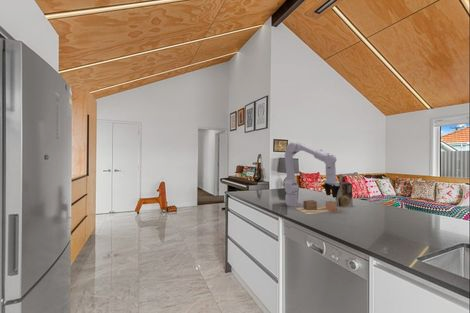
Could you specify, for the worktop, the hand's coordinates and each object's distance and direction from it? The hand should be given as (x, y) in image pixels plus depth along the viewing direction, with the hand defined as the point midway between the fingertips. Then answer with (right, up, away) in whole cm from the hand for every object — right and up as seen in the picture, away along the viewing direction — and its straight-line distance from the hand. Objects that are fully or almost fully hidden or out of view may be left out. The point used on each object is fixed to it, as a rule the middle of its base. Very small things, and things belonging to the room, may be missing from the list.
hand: (331, 196), depth 152 cm
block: (0, -9, 0) cm, 8 cm away
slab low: (-12, -9, +4) cm, 15 cm away
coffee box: (+12, -9, +11) cm, 19 cm away
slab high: (-12, -6, +4) cm, 14 cm away
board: (-9, -10, +3) cm, 13 cm away
